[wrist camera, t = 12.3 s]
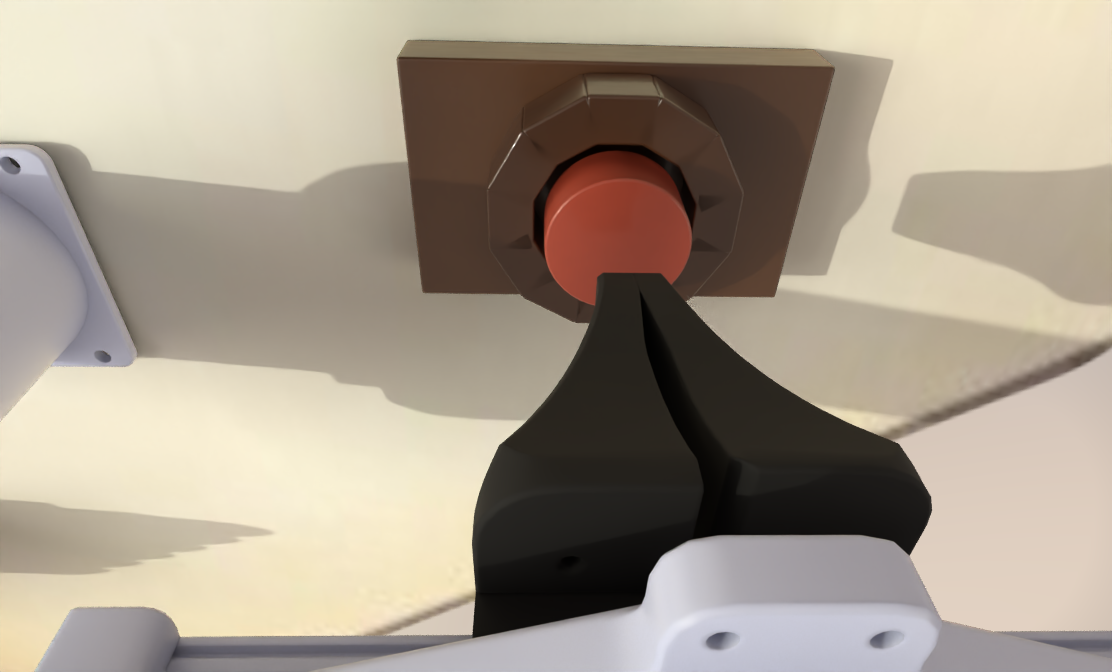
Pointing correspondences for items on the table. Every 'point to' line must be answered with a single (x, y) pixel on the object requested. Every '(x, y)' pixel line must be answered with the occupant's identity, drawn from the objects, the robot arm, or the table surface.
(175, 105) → the table surface
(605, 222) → the bell button
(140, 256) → the table surface
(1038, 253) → the table surface
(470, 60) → the bell block
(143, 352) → the table surface
